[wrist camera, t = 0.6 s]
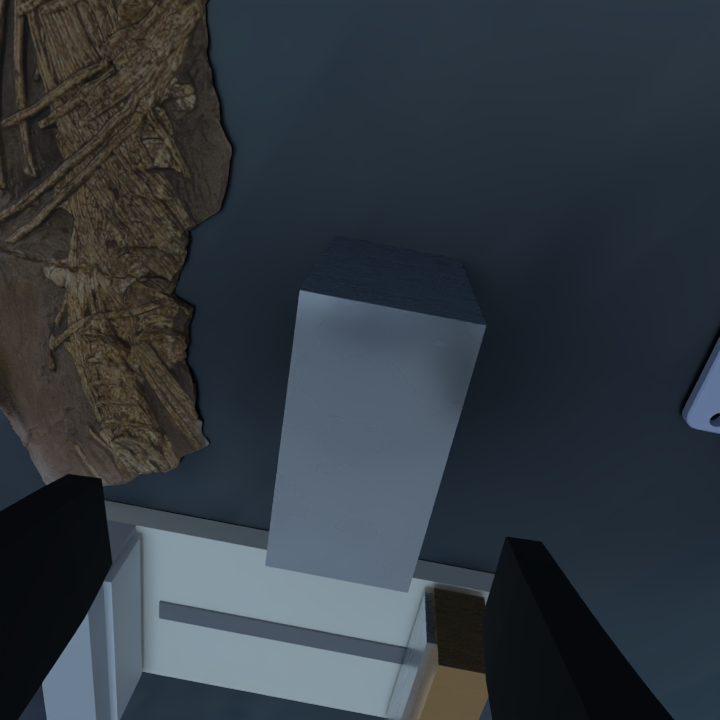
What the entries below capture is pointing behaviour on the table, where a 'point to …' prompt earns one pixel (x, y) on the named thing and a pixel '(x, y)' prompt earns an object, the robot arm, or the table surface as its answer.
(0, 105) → the wooden fragment
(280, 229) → the table surface
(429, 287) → the steel block
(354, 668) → the vise base
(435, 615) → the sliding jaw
